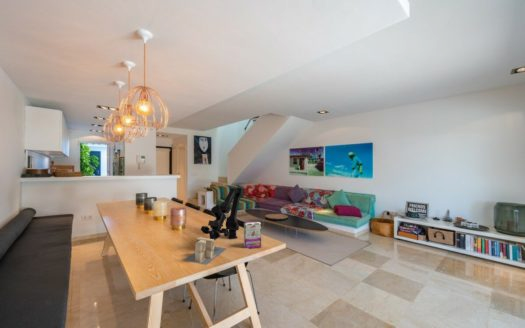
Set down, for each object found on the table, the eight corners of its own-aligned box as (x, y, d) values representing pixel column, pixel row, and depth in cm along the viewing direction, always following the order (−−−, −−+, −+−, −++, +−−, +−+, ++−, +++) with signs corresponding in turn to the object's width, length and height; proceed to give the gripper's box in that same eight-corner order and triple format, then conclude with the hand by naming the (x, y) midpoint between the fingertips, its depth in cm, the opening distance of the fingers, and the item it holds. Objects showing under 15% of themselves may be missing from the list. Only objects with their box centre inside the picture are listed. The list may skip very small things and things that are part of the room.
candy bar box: (259, 245, 148) (259, 221, 148) (261, 247, 143) (261, 223, 143) (243, 246, 145) (243, 222, 145) (244, 249, 140) (245, 224, 140)
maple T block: (199, 253, 130) (199, 237, 130) (213, 256, 127) (214, 239, 127) (190, 259, 122) (190, 242, 122) (205, 262, 119) (205, 244, 119)
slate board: (205, 246, 144) (206, 245, 144) (227, 249, 139) (227, 248, 139) (182, 261, 121) (182, 260, 121) (206, 265, 116) (206, 264, 116)
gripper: (202, 213, 140) (191, 235, 130) (227, 216, 134) (218, 239, 124) (208, 222, 148) (199, 244, 137) (233, 225, 142) (225, 247, 131)
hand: (210, 243), depth 132 cm, fingers closed
